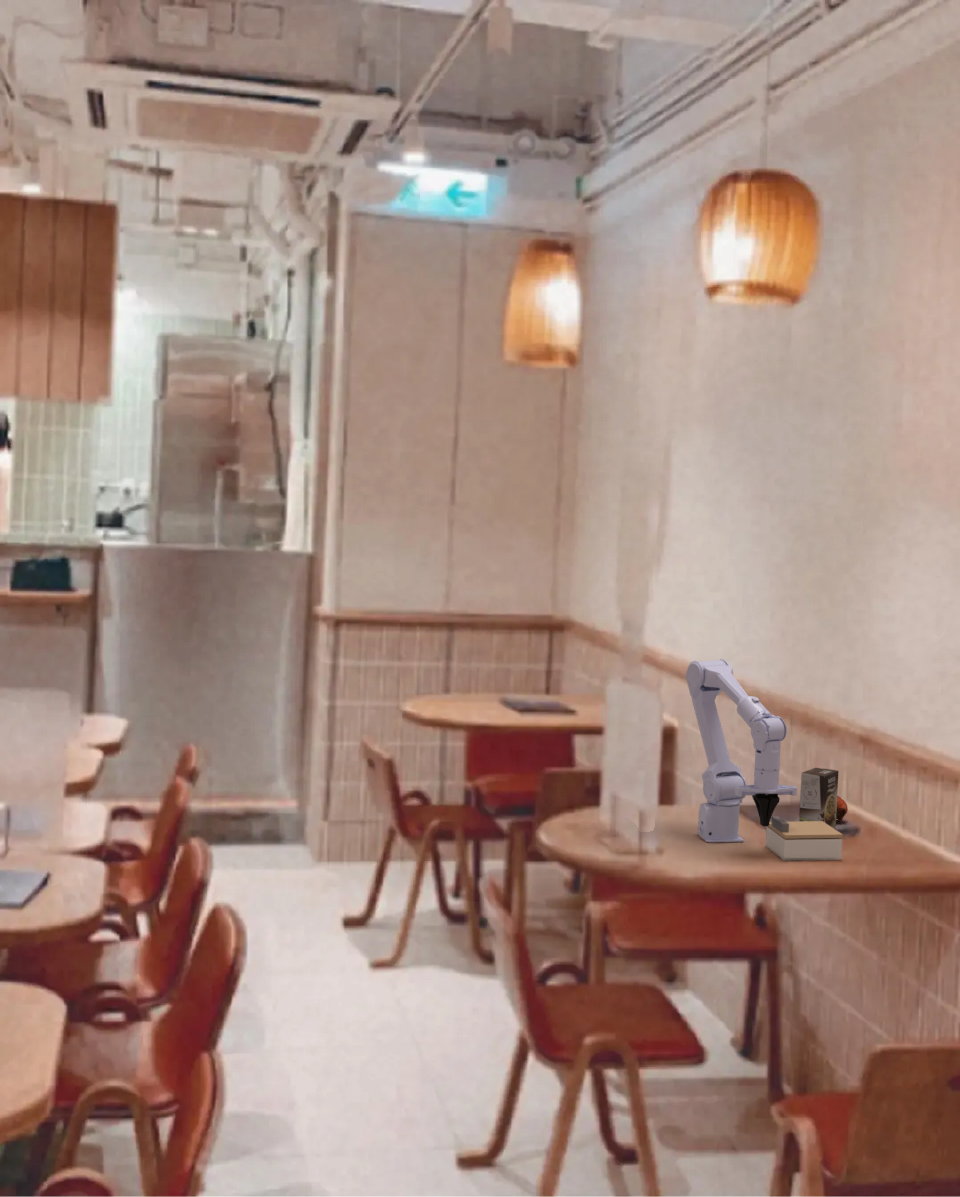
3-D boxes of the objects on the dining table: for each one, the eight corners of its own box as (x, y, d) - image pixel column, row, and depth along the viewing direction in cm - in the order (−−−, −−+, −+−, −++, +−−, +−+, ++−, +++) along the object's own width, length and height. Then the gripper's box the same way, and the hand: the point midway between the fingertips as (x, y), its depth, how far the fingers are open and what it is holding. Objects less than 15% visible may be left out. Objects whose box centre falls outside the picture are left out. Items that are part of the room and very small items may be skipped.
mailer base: (783, 860, 318) (784, 839, 317) (765, 846, 330) (766, 826, 329) (841, 859, 320) (842, 838, 319) (821, 845, 332) (822, 825, 331)
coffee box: (821, 840, 336) (824, 776, 335) (797, 835, 340) (800, 772, 339) (836, 833, 344) (839, 770, 342) (812, 828, 347) (815, 766, 346)
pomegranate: (849, 833, 353) (844, 802, 360) (850, 815, 348) (845, 784, 355) (820, 834, 354) (815, 803, 361) (820, 816, 349) (816, 786, 356)
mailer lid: (784, 838, 317) (785, 826, 317) (766, 825, 329) (767, 813, 329) (842, 837, 319) (843, 825, 319) (822, 824, 331) (822, 812, 331)
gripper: (742, 772, 316) (740, 830, 318) (802, 772, 318) (800, 829, 320) (733, 765, 323) (730, 822, 324) (791, 765, 325) (789, 821, 327)
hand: (764, 825), depth 323 cm, fingers closed
